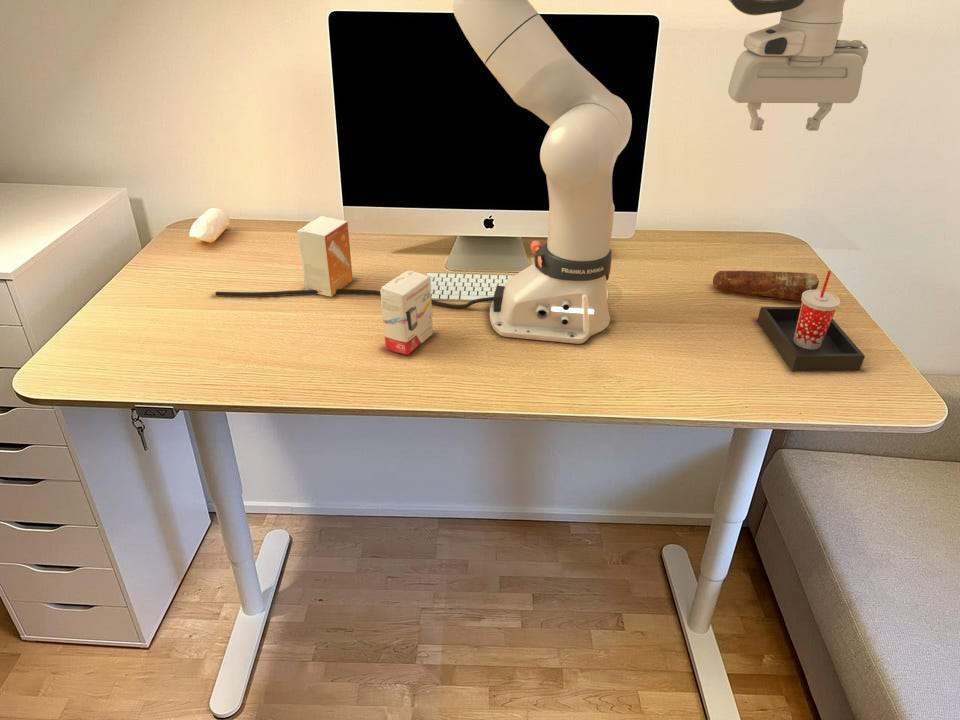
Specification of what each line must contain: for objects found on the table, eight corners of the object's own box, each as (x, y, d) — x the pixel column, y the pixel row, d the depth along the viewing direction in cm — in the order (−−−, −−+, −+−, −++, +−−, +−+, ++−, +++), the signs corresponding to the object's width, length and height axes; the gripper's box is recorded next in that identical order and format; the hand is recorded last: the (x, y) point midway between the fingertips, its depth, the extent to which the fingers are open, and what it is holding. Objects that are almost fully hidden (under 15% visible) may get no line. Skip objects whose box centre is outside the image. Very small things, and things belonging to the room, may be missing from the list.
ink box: (407, 357, 122) (403, 296, 115) (383, 349, 124) (378, 288, 117) (434, 334, 128) (432, 275, 121) (411, 326, 130) (408, 268, 124)
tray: (792, 371, 120) (796, 356, 118) (756, 320, 133) (760, 306, 132) (859, 370, 120) (865, 355, 118) (817, 320, 134) (822, 306, 132)
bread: (812, 307, 138) (820, 282, 134) (711, 293, 142) (716, 268, 139) (809, 292, 143) (817, 267, 140) (711, 279, 147) (716, 255, 144)
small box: (332, 298, 139) (324, 236, 131) (304, 291, 141) (296, 230, 134) (354, 280, 145) (348, 220, 138) (327, 274, 147) (320, 215, 140)
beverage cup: (829, 353, 123) (853, 281, 115) (792, 350, 124) (814, 278, 116) (821, 335, 128) (844, 264, 120) (785, 331, 129) (806, 262, 121)
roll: (185, 251, 155) (179, 227, 152) (206, 229, 165) (201, 206, 162) (212, 252, 155) (207, 228, 152) (232, 230, 165) (227, 207, 162)
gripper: (861, 36, 113) (836, 124, 121) (735, 35, 113) (717, 124, 120) (881, 44, 108) (853, 135, 116) (749, 43, 107) (729, 135, 115)
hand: (783, 129), depth 118 cm, fingers open, 8 cm apart
